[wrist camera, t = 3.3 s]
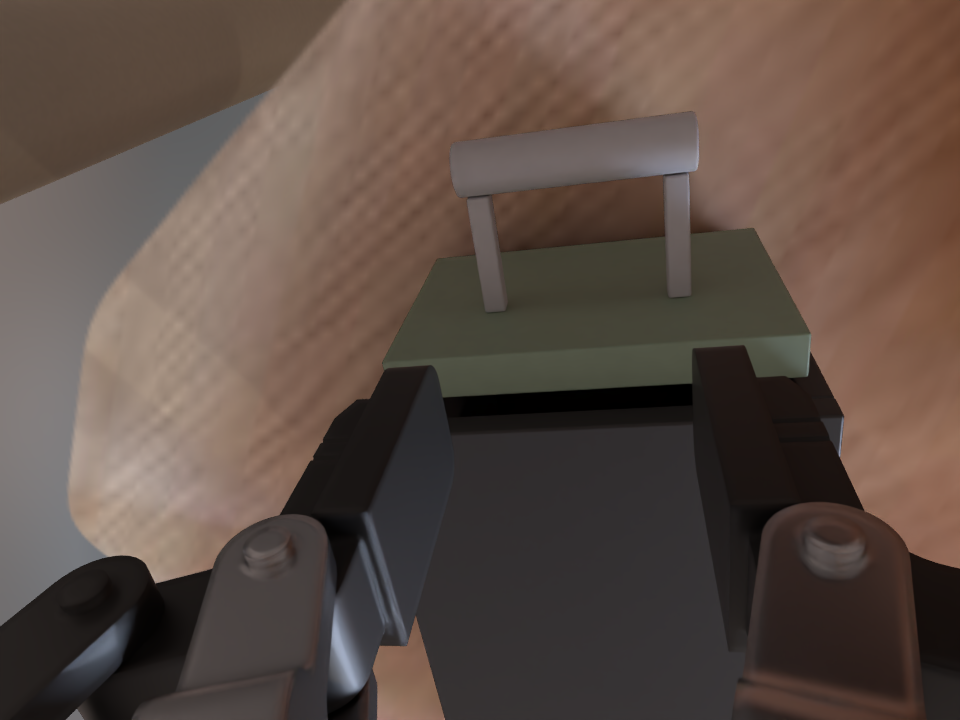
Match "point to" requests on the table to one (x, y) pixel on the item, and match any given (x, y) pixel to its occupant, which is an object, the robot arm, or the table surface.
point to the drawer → (593, 286)
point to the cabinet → (581, 569)
